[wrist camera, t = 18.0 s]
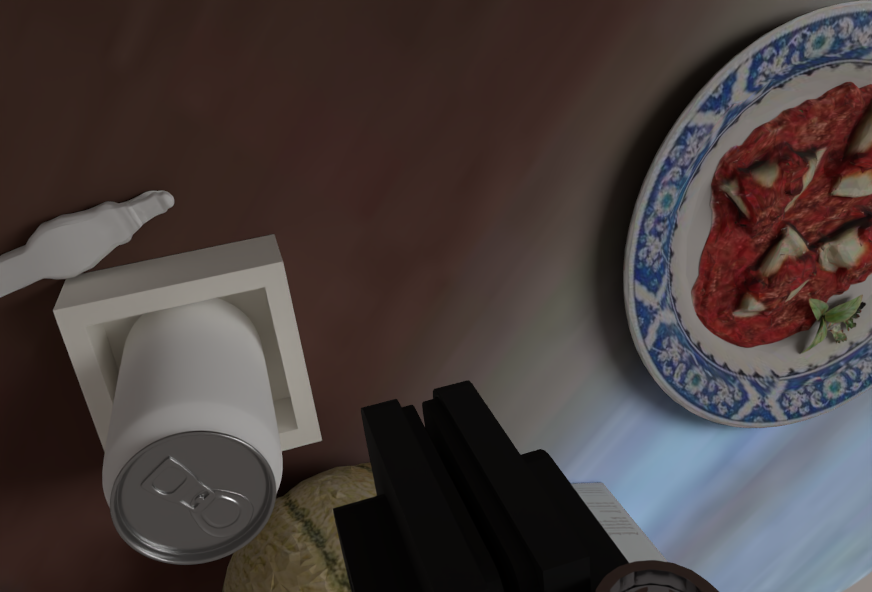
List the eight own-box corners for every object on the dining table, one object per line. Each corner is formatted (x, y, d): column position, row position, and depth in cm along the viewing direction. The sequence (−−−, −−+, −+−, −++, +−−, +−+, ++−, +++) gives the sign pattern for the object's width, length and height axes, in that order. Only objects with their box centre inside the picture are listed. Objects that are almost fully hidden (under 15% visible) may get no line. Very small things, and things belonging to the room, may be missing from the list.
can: (200, 432, 39) (204, 601, 29) (93, 360, 36) (53, 520, 26) (288, 344, 39) (325, 483, 28) (187, 264, 36) (185, 386, 25)
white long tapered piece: (159, 162, 35) (156, 174, 33) (190, 212, 36) (188, 226, 34) (-149, 309, 34) (-168, 329, 32) (-107, 355, 35) (-123, 375, 34)
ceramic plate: (592, 47, 39) (621, 53, 36) (1002, -38, 44) (1054, -38, 41) (617, 458, 50) (641, 485, 47) (943, 352, 55) (981, 371, 52)
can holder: (274, 234, 37) (282, 261, 34) (310, 400, 41) (322, 440, 38) (66, 276, 35) (52, 310, 32) (126, 447, 39) (120, 494, 36)
